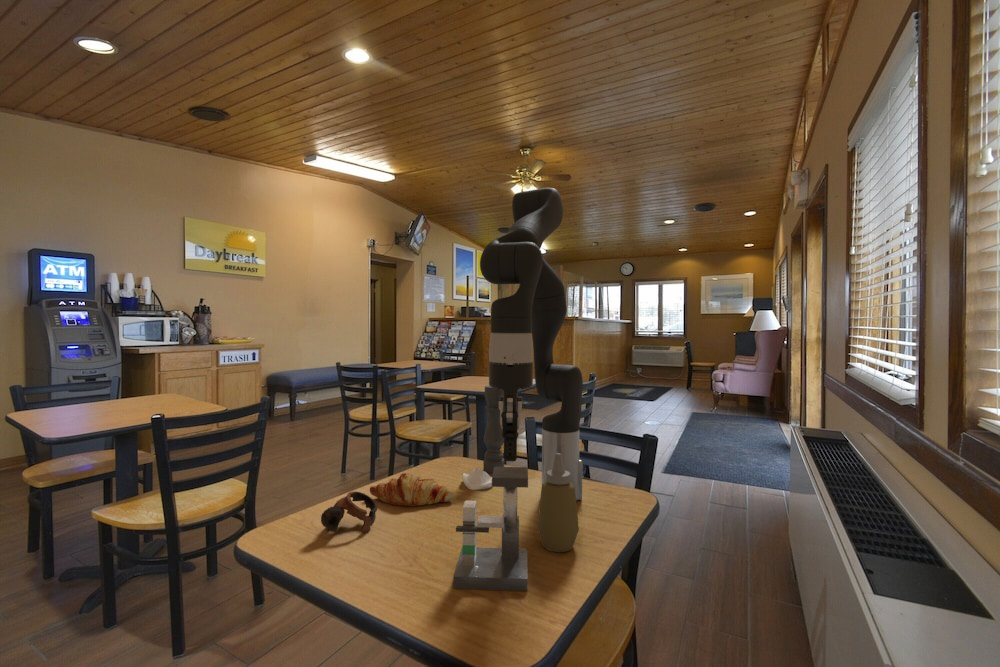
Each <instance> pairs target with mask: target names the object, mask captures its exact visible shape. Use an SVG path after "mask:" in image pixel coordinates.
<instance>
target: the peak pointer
mask: <svg viewBox="0 0 1000 667" xmlns="http://www.w3.org/2000/svg"><path fill="white" fill-rule="evenodd" d="M455 532H456V533H463V532H476V533H481V534H482V533H487V534H488V533H489V532H490V528H486V527H477V525H476V526H463V525H456V526H455Z"/></svg>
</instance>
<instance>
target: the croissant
mask: <svg viewBox="0 0 1000 667" xmlns="http://www.w3.org/2000/svg"><path fill="white" fill-rule="evenodd" d="M369 493H370V495H372V496H374V497H375V498H377V499H379V500H380V501H381V502H383V503H385V504H390V505H394V506H400V507H401V506H405V507H406V506H407V507H418V506H425V505H432V504H437V503H446V502H450V501H452V500H453V499H454V498H455V493H454V492H453V491H451V489H450V488H448V487H447V486H446V485H441V484H439V483H438V482H437V481H435V479H433V478H427V479H426V478H422V477H421V476H420V475H418V474H417V473H410V472H407V473H405V472H402V473H401V474H400V475H399V477H398V478H391V479H390V480H389V481H388V482H387V483H386V482H385V483H384V482H382V483H378V484H377V485H374V486H373V485H372V486H370V487H369Z"/></svg>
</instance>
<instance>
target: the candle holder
mask: <svg viewBox="0 0 1000 667" xmlns="http://www.w3.org/2000/svg"><path fill="white" fill-rule="evenodd" d="M500 397H504V391H503V390H502V389H496V388H492V387H491V386H490V385H489V384H488V385H484V398H485V401H486V404H487V405H485V408H484V409H485V410H486V411H487V423H486V427H485V431H484V435H483V443H484V445H485V446H486V449H487V450H486V451H485V453H484V458H483V459H482V460H483V470H482V471H485V472H486V473H487V474H488V475H493V470H494V467H505V460H504V452H502V450H501V449H502V446H504V439H503V437H502V433H503V432H502V426H501V425H500V410H499V399H500Z"/></svg>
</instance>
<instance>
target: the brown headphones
mask: <svg viewBox="0 0 1000 667" xmlns="http://www.w3.org/2000/svg"><path fill="white" fill-rule="evenodd" d="M351 498H352V499H351ZM362 501H364V502H363V503H364V504H365V508H366V509H363V508H361V507H360V506H357V505H356V504H355V503H354V502H362ZM367 509H369V512H368V511H367ZM345 510H346V511H345ZM377 511H378V505H377V503H376V501H375V500H374V499H373V498H372V497H370V496H369V495H367V494H366V493H363V492H360V491H349V492H348V493H347V494H346V496H343V497H341V498H340V499H338V500H337V501H336V502H335V503H334V505H333V506H329V507H328V508H327V509H325V510H324V511H323V512H322V514H321V516H320V522H321V524H322V526H323V527H324V528H326V531H327V532H328V533H329V532H332V533H336V532H337V531H338V527H339V525H340V522H341V520H342V519H343V518H344V515H345V512H346V514H348V515H350V516H351V517H354V518H357V519H358V520H360V521H363V525H362V528H361V529H360V531H361V532H362V533H367V532H368V531H369V530H370V528H371V526H373V525H374V523H375V521H376V517H377V516H376V512H377ZM367 514H368V515H367Z"/></svg>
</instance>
